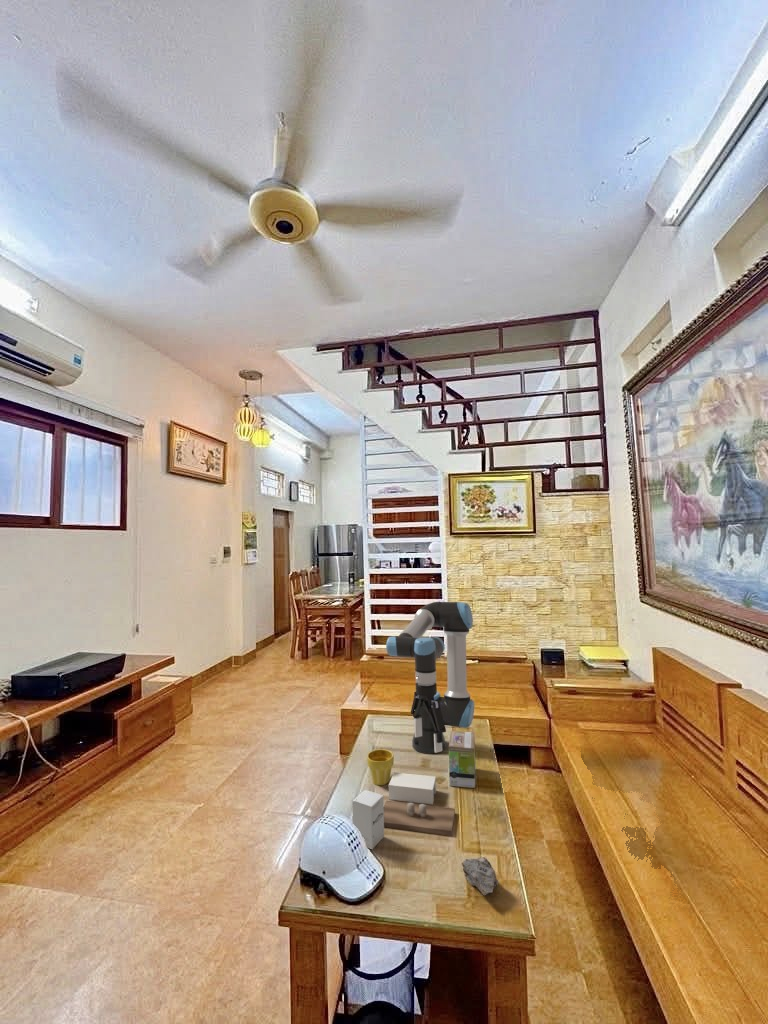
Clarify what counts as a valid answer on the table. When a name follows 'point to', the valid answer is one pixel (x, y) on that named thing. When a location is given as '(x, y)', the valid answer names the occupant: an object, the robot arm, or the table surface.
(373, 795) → the supplement box
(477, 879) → the mineral specimen
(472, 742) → the tea box
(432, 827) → the board
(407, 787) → the panel
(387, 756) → the plant pot
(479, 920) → the table surface
